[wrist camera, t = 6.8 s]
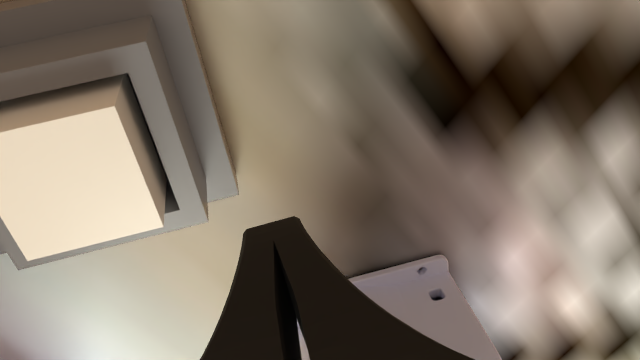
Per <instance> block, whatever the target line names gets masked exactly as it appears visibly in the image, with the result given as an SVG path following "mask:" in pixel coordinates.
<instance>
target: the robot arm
mask: <svg viewBox="0 0 640 360" xmlns="http://www.w3.org/2000/svg"><path fill="white" fill-rule="evenodd" d="M421 267H423V268H422V269H420V270H418V269H419V268H421ZM200 360H502V359H501V357H500V355H499V353H498V351H497V350H496V348H495V346H494V345H493V343H492V341H491V340H490V338H489V336H488V335H487V333H486V332H485V330H484V328H483V327H482V325H481V323H480V322H479V320H478V319H477V317H476V315H475V314H474V312H473V310H472V309H471V307H470V305H469V304H468V302H467V301H466V299H465V297H464V296H463V294H462V292H461V291H460V289H459V288H458V286H457V284H456V283H455V281H454V279H453V278H452V276H451V275H450V273H449V263H448V260H447V259H446V257H445V256H444V255H435V256H431V257H428V258H424V259H420V260H416V261H413V262H409V263H405V264H401V265H398V266H394V267H390V268H387V269H383V270H379V271H375V272H372V273H368V274H364V275H360V276H357V277H353V278H349V279H347V278H346V277H345V276H344V275H343V274H342V273H341V272H340V271H339V270H338V269H337V268H336V267H335V266H334V265H333V264H332V263H331V262H330V260H329V259H328V258H327V257H326V256H325V255H324V254H323V253H322V251H321V250H320V249H319V248H318V247H317V245H316V244H315V243H314V241H313V240H312V239H311V237H310V236H309V235H308V233H307V232H306V230H305V228H304V227H303V225H302V223H301V221H300V219H299V218H297V217H295V216H293V217H290V218H286V219H282V220H279V221H275V222H271V223H267V224H264V225H260V226H256V227H253V228H249V229H246V231H245V232H244V234H243V241H242V247H241V252H240V257H239V261H238V265H237V269H236V272H235V276H234V279H233V283H232V286H231V289H230V292H229V295H228V298H227V301H226V303H225V306H224V308H223V311H222V314H221V316H220V319H219V321H218V324H217V326H216V328H215V331H214V333H213V335H212V337H211V339H210V341H209V343H208V345H207V347H206V349H205V351H204V353H203V355H202V357H201V359H200Z"/></svg>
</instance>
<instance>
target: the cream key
mask: <svg viewBox="0 0 640 360" xmlns="http://www.w3.org/2000/svg"><path fill="white" fill-rule="evenodd" d="M166 184H167V179H166V176H165V174H164V171H163V169H162V166H161V163H160V161H159V158H158V155H157V153H156V150H155V147H154V145H153V142H152V140H151V137H150V134H149V132H148V129H147V126H146V124H145V121H144V118H143V116H142V113H141V111H140V108H139V105H138V103H137V100H136V97H135V95H134V92H133V89H132V87H131V84H130V82H129V79H128V76H127V74H126V73H125V74H121V75H116V76H112V77H107V78H103V79H99V80H94V81H90V82H85V83H81V84H76V85H72V86H68V87H63V88H59V89H54V90H50V91H45V92H41V93H37V94H32V95H28V96H23V97H19V98H14V99H10V100H6V101H1V102H0V217H1V219H2V220H3V222H4V224H5V225H6V227H7V228H8V230H9V232H10V233H11V235H12V237H13V238H14V240H15V242H16V243H17V245H18V246H19V248H20V250H21V251H22V253H23V255H24V256H25V258H26V260H27V261H30V260H34V259H38V258H42V257H46V256H50V255H54V254H58V253H62V252H66V251H70V250H74V249H78V248H82V247H86V246H90V245H94V244H97V243H101V242H105V241H109V240H113V239H117V238H121V237H125V236H129V235H133V234H137V233H141V232H145V231H149V230H153V229H157V228H161V227H164V214H165V199H166Z"/></svg>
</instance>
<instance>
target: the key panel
mask: <svg viewBox="0 0 640 360" xmlns="http://www.w3.org/2000/svg"><path fill="white" fill-rule="evenodd" d="M125 73H126V74H127V76H128V79H129V82H130V84H131V87H132V89H133V92H134V95H135V97H136V100H137V103H138V105H139V108H140V111H141V113H142V116H143V118H144V121H145V124H146V126H147V129H148V132H149V134H150V137H151V140H152V142H153V145H154V147H155V150H156V153H157V155H158V158H159V161H160V163H161V166H162V169H163V171H164V174H165V176H166V179H167V184H166V199H165V214H164V227H161V228H157V229H153V230H149V231H145V232H141V233H137V234H133V235H129V236H125V237H121V238H117V239H113V240H109V241H105V242H101V243H97V244H94V245H90V246H86V247H82V248H78V249H74V250H70V251H66V252H62V253H58V254H54V255H50V256H46V257H42V258H38V259H34V260H30V261H27V260H26V258H25V256H24V255H23V253H22V251H21V250H20V248H19V246H18V245H17V243H16V242H15V240H14V238H13V237H12V235H11V233H10V232H9V230H8V228H7V227H6V225H5V224H4V222H3V220H2V219H1V217H0V254H4V253H8V255H9V256H10V258H11V260H12V261H13V263H14V264H15V266H16V268H17V269H18V270H21V269H25V268H28V267H32V266H36V265H40V264H44V263H48V262H52V261H56V260H60V259H64V258H68V257H72V256H76V255H80V254H84V253H88V252H92V251H96V250H100V249H104V248H108V247H112V246H116V245H119V244H123V243H127V242H131V241H135V240H139V239H143V238H147V237H151V236H155V235H159V234H163V233H167V232H171V231H175V230H179V229H183V228H187V227H191V226H195V225H199V224H203V223H207V222H208V205H207V203H208V202H212V201H216V200H220V199H224V198H228V197H232V196H236V195H239V191H238V184H237V178H236V174H235V170H234V167H233V163H232V160H231V157H230V153H229V150H228V146H227V143H226V140H225V136H224V133H223V129H222V126H221V123H220V119H219V116H218V112H217V109H216V105H215V102H214V99H213V95H212V92H211V88H210V85H209V82H208V78H207V75H206V71H205V68H204V64H203V61H202V58H201V54H200V51H199V47H198V44H197V41H196V37H195V34H194V30H193V27H192V24H191V20H190V17H189V13H188V10H187V6H186V3H185V0H13V1H8V2H4V3H0V102H1V101H6V100H10V99H14V98H19V97H23V96H28V95H32V94H37V93H41V92H45V91H50V90H54V89H59V88H63V87H68V86H72V85H76V84H81V83H85V82H90V81H94V80H99V79H103V78H107V77H112V76H116V75H121V74H125Z"/></svg>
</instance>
